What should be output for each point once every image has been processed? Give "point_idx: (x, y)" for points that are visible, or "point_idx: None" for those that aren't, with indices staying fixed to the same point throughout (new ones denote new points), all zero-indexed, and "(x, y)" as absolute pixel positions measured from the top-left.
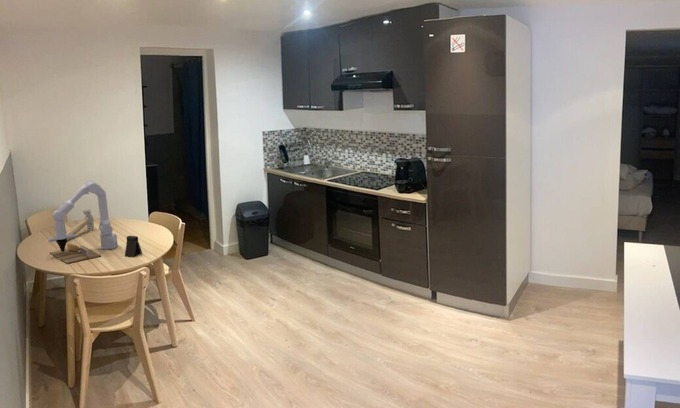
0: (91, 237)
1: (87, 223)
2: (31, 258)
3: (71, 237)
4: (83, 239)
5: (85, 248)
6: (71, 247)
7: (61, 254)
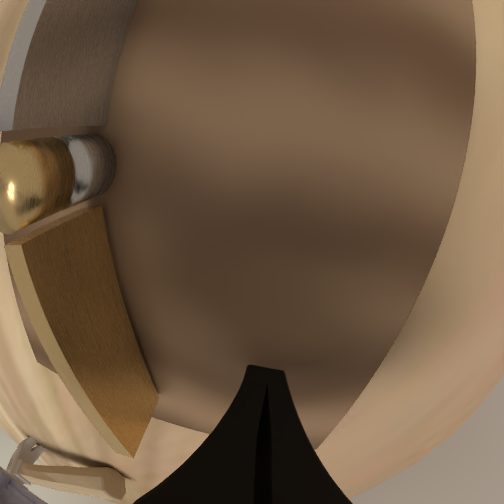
0: (21, 408)
1: (25, 464)
2: (452, 419)
3: (17, 493)
4: (47, 425)
5: None
6: (115, 373)
7: (310, 335)
